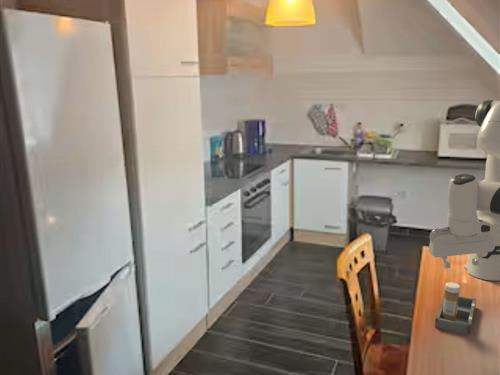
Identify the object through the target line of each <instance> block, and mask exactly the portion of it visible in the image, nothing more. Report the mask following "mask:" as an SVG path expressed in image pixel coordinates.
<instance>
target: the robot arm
mask: <svg viewBox="0 0 500 375" xmlns="http://www.w3.org/2000/svg"><path fill="white" fill-rule="evenodd" d="M475 123H476V125H477V126H478V127H480V128H479V130H478V135H477V143H478V146H479V147H480V149H481V150H482V151H483V152H485V153H486V154H487V157H486V161H485V175H484V179H482V180H477V177H475V176H474V175H472V174H467V173H461V174H457V175H453V176H452V177H451V178H450V179H449V183H448V187H447V199H446V200H447V201H446V202H447V207H448V211H447V214H446V227H440V228H439V227H438V228H437V227H436V228H434V229H433V230H431V231H430V232H429V246H428V253H429V254H430V255H432V256H433V257H434V258H440V259H441V261H442V263H443V268H444V269H446V270H447V269H450V268H451V263H450V261H447V259H448V257H453V256H461V255H462V256H463V255H468V258H467V262H466V263H464V264H463V268H464V269H465V270H466V271H467V273H468V274H469V275H471V276H472V277H475V278H478V279H481V280H487V281H496V282H497V281H498V282H499V281H500V100H493V99H488V100H487V99H486V100H483V101H481V102H480V103H479V104H478V107H476V111H475Z"/></svg>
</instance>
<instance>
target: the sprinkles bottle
mask: <svg viewBox="0 0 500 375" xmlns="http://www.w3.org/2000/svg"><path fill="white" fill-rule="evenodd" d="M460 291H461V286H460V284H458V283H456V282H446V283H445V284H444V293H445V297H444V305H443V316H442V319H446V320H450V321H455V322H456V315H457V308H458V297H459V296H460V295H459V294H460Z"/></svg>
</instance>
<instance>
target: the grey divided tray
mask: <svg viewBox="0 0 500 375" xmlns="http://www.w3.org/2000/svg"><path fill="white" fill-rule="evenodd" d="M444 297H445V292H444V293H443V297H442V300H441V303H440V305H439V308H438V310H437V314H436V317H435V321H434V322H435V323H434V328H438V329H442V330H446V331H451V332H453V333H454V332H456V333H459V334H464V335H466V336H467V335H468V336H470V334H471V329H472V325H473V319H474V315H475V311H476V303H477V299H476V298H473V297H472V298H471V297H469V296H468V297H467V296H462V295H459V297H458V308H457V315H456V322H455V321H450V320H446V319H442V316H443V305H444Z"/></svg>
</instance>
